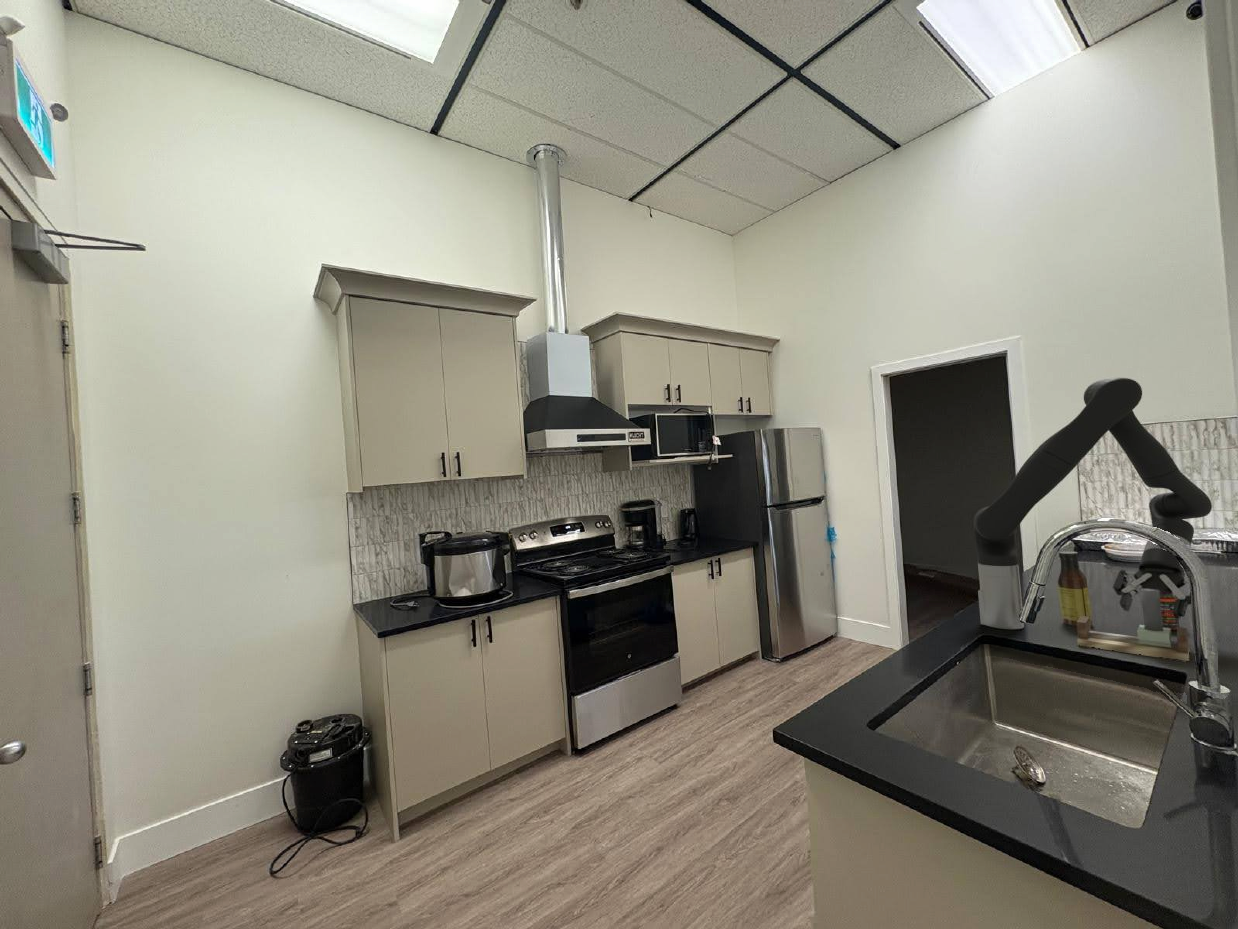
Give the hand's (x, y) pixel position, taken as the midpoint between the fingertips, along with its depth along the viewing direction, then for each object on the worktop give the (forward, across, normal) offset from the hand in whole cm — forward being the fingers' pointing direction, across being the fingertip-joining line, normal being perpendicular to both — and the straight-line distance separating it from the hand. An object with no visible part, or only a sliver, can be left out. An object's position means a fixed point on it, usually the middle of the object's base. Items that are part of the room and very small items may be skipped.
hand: (1150, 612), depth 117 cm
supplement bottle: (-12, -6, +25) cm, 28 cm away
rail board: (+6, -4, +7) cm, 10 cm away
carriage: (+4, 0, +6) cm, 7 cm away
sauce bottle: (-3, -20, +16) cm, 26 cm away
